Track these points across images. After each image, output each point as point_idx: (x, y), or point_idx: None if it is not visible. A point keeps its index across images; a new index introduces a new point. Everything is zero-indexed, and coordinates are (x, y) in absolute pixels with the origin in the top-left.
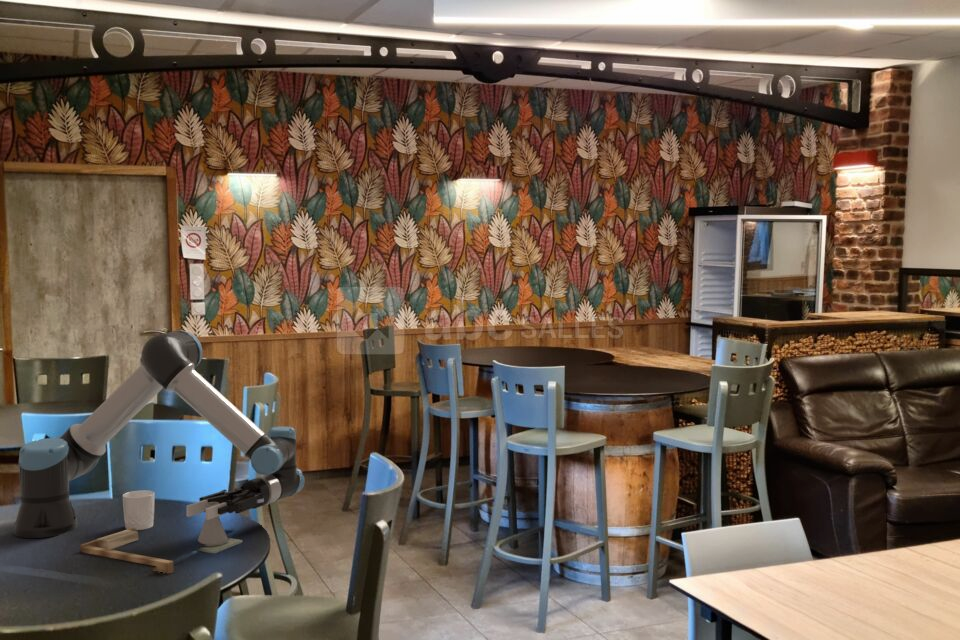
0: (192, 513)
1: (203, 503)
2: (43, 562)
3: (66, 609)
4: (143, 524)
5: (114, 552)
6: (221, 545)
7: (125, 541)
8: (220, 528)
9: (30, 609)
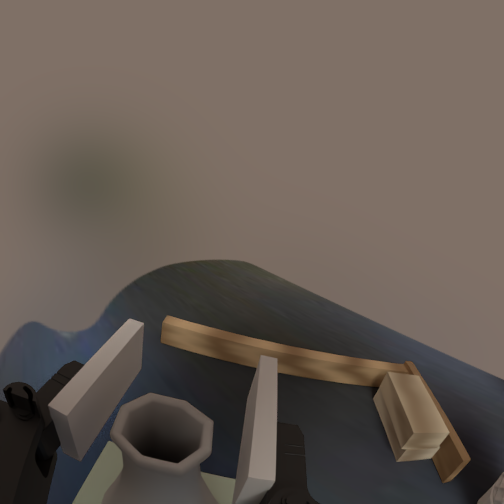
0: (248, 407)
1: (247, 450)
2: (412, 358)
3: (225, 272)
4: (493, 496)
5: (327, 355)
6: None
7: (394, 414)
8: (112, 490)
9: (261, 276)
